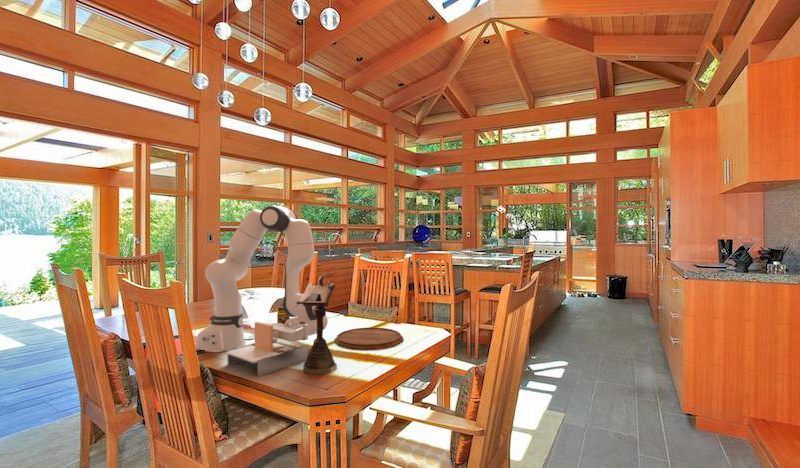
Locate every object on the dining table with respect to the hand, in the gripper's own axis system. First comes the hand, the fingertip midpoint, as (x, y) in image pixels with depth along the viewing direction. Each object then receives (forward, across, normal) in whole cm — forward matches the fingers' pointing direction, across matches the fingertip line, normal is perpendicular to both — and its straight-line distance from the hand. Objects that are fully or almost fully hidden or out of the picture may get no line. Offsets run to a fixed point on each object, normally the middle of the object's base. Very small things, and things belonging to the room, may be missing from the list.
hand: (265, 335), depth 155 cm
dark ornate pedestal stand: (-6, +24, +11) cm, 27 cm away
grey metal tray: (-1, 0, +10) cm, 11 cm away
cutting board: (-48, +11, +11) cm, 51 cm away
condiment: (-36, -37, +11) cm, 53 cm away
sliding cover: (+6, 0, +6) cm, 8 cm away
